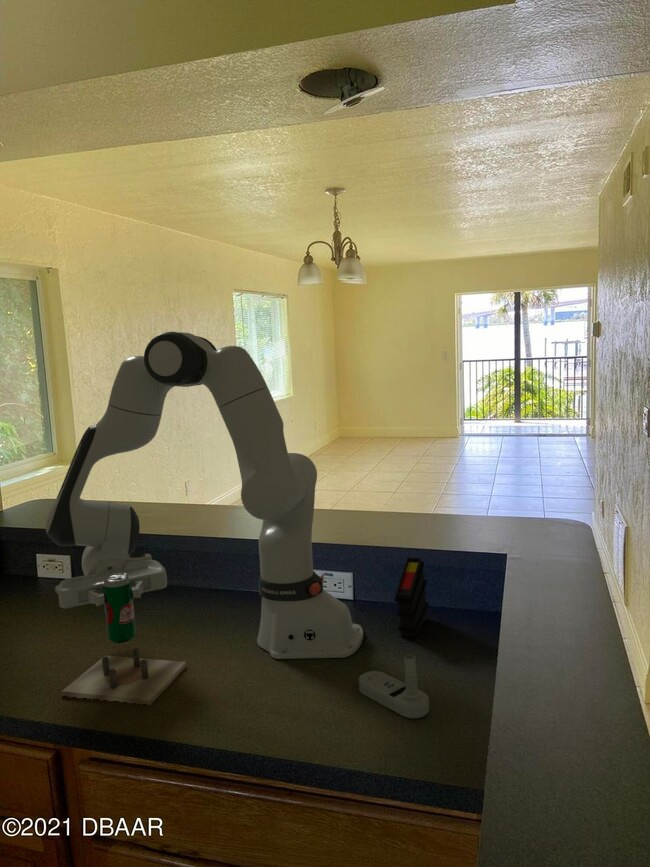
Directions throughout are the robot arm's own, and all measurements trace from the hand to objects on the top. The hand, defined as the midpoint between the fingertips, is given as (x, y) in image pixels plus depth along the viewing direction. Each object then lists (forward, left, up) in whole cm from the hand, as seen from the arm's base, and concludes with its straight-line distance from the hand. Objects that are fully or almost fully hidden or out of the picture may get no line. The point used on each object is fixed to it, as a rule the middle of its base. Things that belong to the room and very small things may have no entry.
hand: (118, 597), depth 121 cm
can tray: (+1, -1, -17) cm, 17 cm away
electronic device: (-50, -2, -17) cm, 53 cm away
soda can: (+1, -1, -8) cm, 9 cm away
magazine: (-50, -31, -17) cm, 61 cm away
